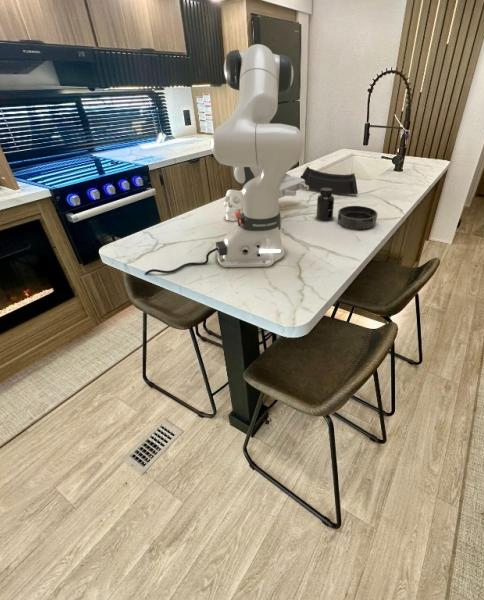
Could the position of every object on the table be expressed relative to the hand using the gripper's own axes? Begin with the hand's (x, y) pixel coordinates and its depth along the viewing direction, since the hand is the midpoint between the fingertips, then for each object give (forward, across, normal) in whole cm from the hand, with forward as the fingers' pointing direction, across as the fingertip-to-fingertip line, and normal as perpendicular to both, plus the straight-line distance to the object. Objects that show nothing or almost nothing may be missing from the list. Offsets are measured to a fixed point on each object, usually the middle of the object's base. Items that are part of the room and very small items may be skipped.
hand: (301, 190), depth 136 cm
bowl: (+25, +3, +9) cm, 27 cm away
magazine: (-5, +31, +10) cm, 32 cm away
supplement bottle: (+12, 0, +9) cm, 15 cm away
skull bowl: (-20, -19, +9) cm, 29 cm away
